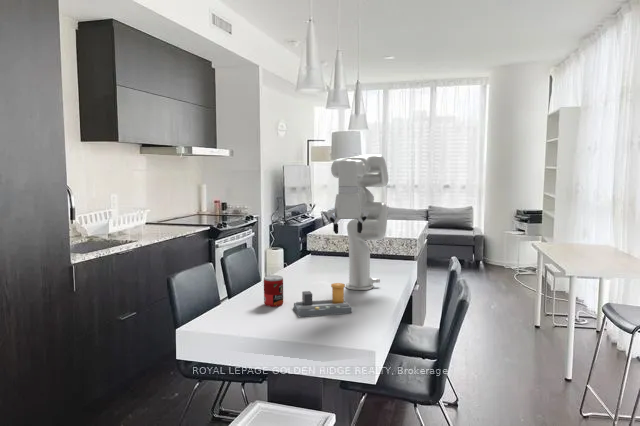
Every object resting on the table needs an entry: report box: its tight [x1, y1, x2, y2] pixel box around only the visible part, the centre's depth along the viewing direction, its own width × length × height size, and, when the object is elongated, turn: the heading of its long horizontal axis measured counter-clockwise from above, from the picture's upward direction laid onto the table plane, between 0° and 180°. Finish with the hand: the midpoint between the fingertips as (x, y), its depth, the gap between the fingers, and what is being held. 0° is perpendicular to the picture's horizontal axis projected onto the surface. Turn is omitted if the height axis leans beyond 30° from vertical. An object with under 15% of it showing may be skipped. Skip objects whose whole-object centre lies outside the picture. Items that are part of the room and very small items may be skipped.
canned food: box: [263, 274, 284, 308], centre depth 187 cm, size 8×8×11 cm
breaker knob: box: [301, 290, 313, 306], centre depth 177 cm, size 3×4×5 cm
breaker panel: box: [293, 298, 353, 318], centre depth 178 cm, size 20×12×3 cm, turn 103°
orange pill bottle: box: [330, 282, 346, 304], centre depth 179 cm, size 5×5×8 cm
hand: (347, 233), depth 188 cm, fingers open, 9 cm apart
